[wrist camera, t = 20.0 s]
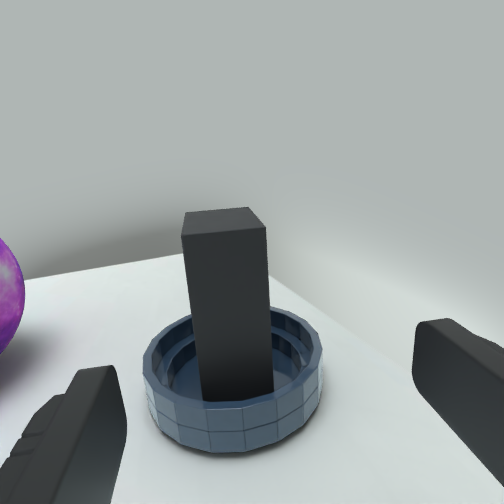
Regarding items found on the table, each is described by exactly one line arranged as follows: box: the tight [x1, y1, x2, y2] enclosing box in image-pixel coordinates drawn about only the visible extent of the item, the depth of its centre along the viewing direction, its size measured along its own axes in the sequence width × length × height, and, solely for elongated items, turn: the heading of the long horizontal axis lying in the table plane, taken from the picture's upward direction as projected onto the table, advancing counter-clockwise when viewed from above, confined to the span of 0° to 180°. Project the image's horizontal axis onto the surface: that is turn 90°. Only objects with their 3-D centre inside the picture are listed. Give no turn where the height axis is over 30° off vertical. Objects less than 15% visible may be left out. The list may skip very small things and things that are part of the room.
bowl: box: [143, 306, 323, 453], centre depth 24 cm, size 12×12×4 cm
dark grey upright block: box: [181, 207, 274, 402], centre depth 22 cm, size 4×6×12 cm
